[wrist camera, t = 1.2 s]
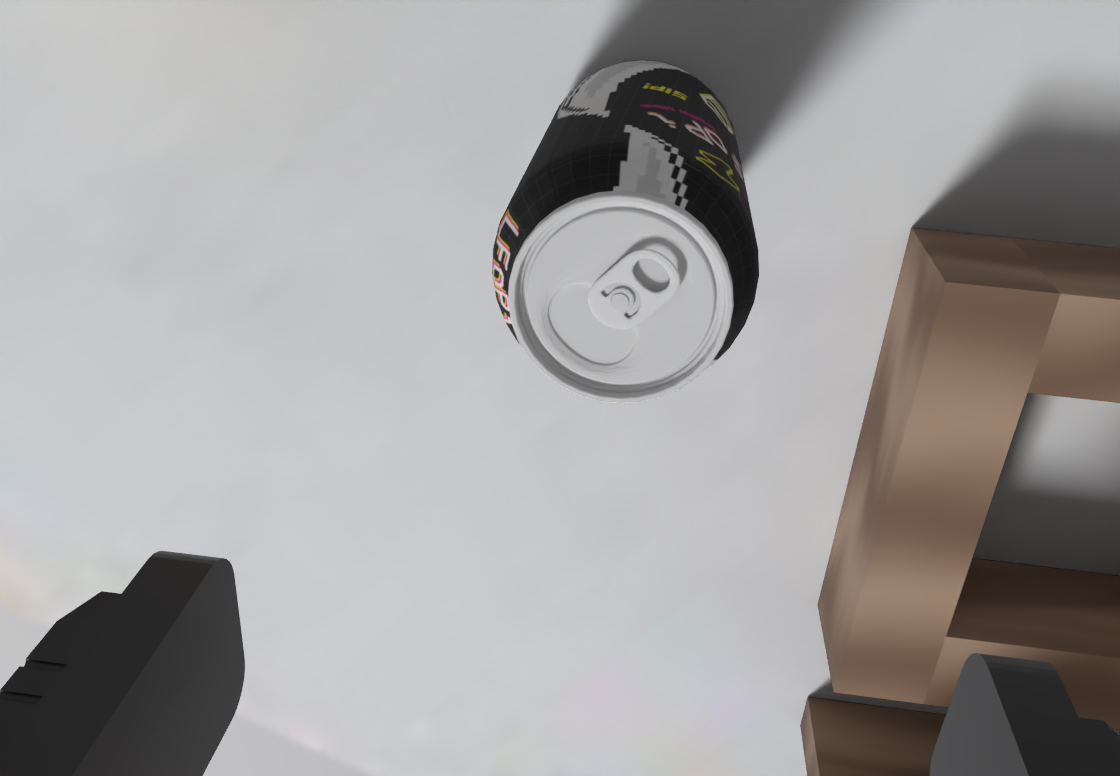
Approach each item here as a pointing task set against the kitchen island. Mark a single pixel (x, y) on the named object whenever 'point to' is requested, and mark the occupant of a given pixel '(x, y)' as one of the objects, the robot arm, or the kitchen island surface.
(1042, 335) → the socket block
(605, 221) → the beverage can
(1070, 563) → the kitchen island surface
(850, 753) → the grey-capped wooden panel
